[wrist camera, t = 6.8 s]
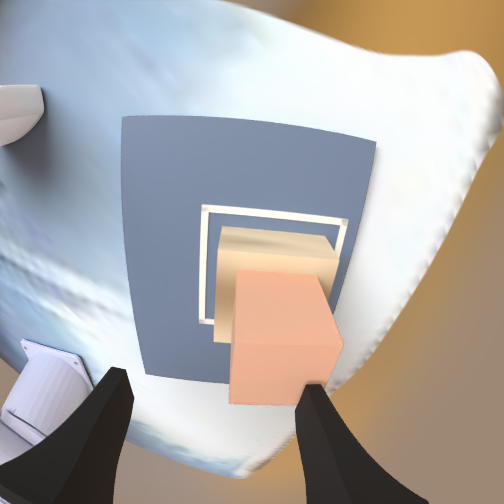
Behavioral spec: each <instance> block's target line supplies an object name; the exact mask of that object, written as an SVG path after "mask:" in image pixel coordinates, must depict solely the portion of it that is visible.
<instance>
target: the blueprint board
mask: <svg viewBox="0 0 504 504" xmlns="http://www.w3.org/2000/svg"><path fill="white" fill-rule="evenodd" d="M375 148H376V142H375V141H371V140H367V139H363V138H358V137H354V136H349V135H345V134H340V133H335V132H330V131H324V130H319V129H313V128H307V127H301V126H295V125H288V124H281V123H273V122H265V121H255V120H245V119H234V118H220V117H202V116H126V117H122V132H121V194H122V215H123V230H124V243H125V253H126V263H127V271H128V280H129V287H130V294H131V301H132V307H133V313H134V319H135V325H136V330H137V336H138V341H139V346H140V351H141V355H142V360H143V364H144V369H145V373H146V374H149V375H155V376H161V377H168V378H176V379H184V380H193V381H202V382H213V383H225V384H229V383H230V357H231V343H222V342H214V315H215V293H216V273H217V255H218V246H219V241H220V235H221V230H222V226H226V227H238V228H249V229H261V230H271V231H282V232H292V233H302V234H312V235H322V236H325V237H326V238H327V240H328V241H329V243H330V245H331V246H332V248H333V250H334V251H335V253H336V255H337V256H338V258H339V260H340V261H339V264H338V268H337V272H336V275H335V279H334V282H333V286H332V289H331V293H330V296H329V299H328V305H329V307H330V310H331V313H332V315H333V313H334V310H335V307H336V304H337V301H338V298H339V295H340V292H341V288H342V285H343V282H344V278H345V275H346V272H347V268H348V265H349V261H350V258H351V254H352V250H353V247H354V243H355V239H356V235H357V231H358V227H359V223H360V219H361V215H362V211H363V207H364V202H365V198H366V193H367V189H368V184H369V179H370V174H371V169H372V164H373V159H374V153H375Z"/></svg>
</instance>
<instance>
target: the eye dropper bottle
mask: <svg viewBox="0 0 504 504" xmlns="http://www.w3.org/2000/svg"><path fill="white" fill-rule="evenodd" d="M43 113H44V102H43V97H42V92H41V89H40V87H39V86H38V85H4V86H0V146H3V145H6V144H9V143H12V142H14V141H16V140H18V139H20V138H21V137H23V136H24V135H26V134H27V133H28V132H29V131H30V130H31V129H32V128H33V127H34V126H35V125H36V123H37V122H38V121H39V119H40V118H41V117H42V115H43Z"/></svg>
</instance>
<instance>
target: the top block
mask: <svg viewBox="0 0 504 504" xmlns="http://www.w3.org/2000/svg"><path fill="white" fill-rule="evenodd" d="M343 346H344V344H343V342H342V339H341V336H340V334H339V331H338V328H337V326H336V323H335V320H334V318H333V315H332V313H331V310H330V307H329V305H328V302H327V300H326V297H325V295H324V292H323V290H322V287H321V285H320V282H319V280H318V277H317V275H305V274H291V273H277V272H264V271H251V270H239V269H237V276H236V287H235V298H234V309H233V321H232V334H231V357H230V383H229V404H244V405H298V402H299V400H300V398H301V395H302V393H303V390H304V388H305V385H306V384H321V385H322V387H323V389H324V388H325V386H326V384H327V382H328V380H329V377H330V375H331V373H332V371H333V369H334V366H335V364H336V362H337V360H338V357H339V355H340V353H341V350H342V348H343Z"/></svg>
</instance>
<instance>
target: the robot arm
mask: <svg viewBox="0 0 504 504" xmlns="http://www.w3.org/2000/svg"><path fill="white" fill-rule="evenodd" d="M21 345H22V347H23V349H24V351H25V353H26V355H27V356H28V358H29V361H28V363H27V364H26V366H25V368H24V369H23V371H22V373H21V374H20V376H19V378H18V380H17V381H16V383H15V385H14V387H13V389H12V390H11V393H10V394H9V396H8V398H7V399H6V401H5V403H4V405H3V407H2V409H1V411H0V504H113V495H114V484H115V477H116V469H117V464H118V460H119V456H120V453H121V449H122V446H123V443H124V439H125V436H126V433H127V429H128V426H129V423H130V419H131V414H132V409H133V403H134V395H133V392H132V389H131V386H130V382H129V379H128V376H127V372H126V369H121V368H116V367H111V368H110V369H109V370H108V372H107V373H106V374H105V375H104V377H103V378H102V379H101V380H100V382H99V383H98V384H97V385H96V387H95V388H93V386H92V384H91V382H90V380H89V377H88V375H87V373H86V371H85V368H84V366H83V363H82V361H81V359H80V357H79V356H78V355H76V354H72V353H68V352H64V351H61V350H57V349H53V348H50V347H47V346H43V345H40V344H37V343H34V342H31V341H28V340H25V339H22V341H21ZM295 423H296V434H297V439H298V444H299V450H300V454H301V460H302V465H303V470H304V476H305V482H306V496H307V504H429V503H428V501H427V500H425V499H423V498H422V497H420V496H418V495H417V494H415V493H414V492H412V491H411V490H409V489H407V488H406V487H405V486H403V485H402V484H401V483H399V482H398V481H397V480H396V479H394V478H393V477H392V476H391V475H390V474H388V473H387V472H386V471H385V470H384V469H383V468H382V467H381V466H380V465H379V464H378V463H377V462H375V460H374V459H373V458H372V457H371V456H370V455H369V454H368V453H367V452H366V450H365V449H364V448H363V447H362V446H361V445H360V443H359V442H358V441H357V439H356V438H355V437H354V436H353V434H352V433H351V431H350V430H349V429H348V428H347V426H346V424H345V423H344V421H343V420H342V419H341V417H340V415H339V414H338V412H337V411H336V409H335V407H334V406H333V404H332V403H331V401H330V399H329V397H328V396H327V394H326V392H325V390H324V389H323V387H322V385H321V384H306V385H305V388H304V390H303V393H302V395H301V398H300V400H299V402H298V405H297V407H296V409H295Z"/></svg>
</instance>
